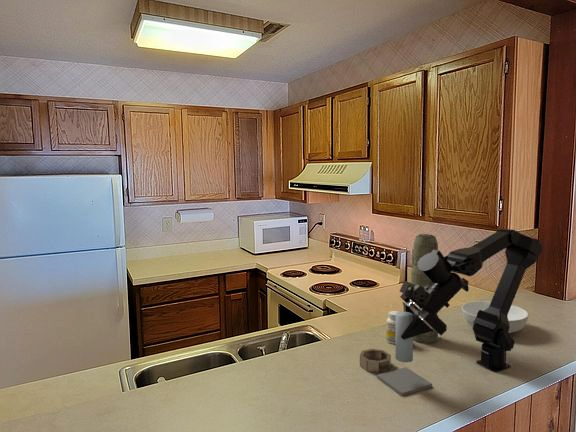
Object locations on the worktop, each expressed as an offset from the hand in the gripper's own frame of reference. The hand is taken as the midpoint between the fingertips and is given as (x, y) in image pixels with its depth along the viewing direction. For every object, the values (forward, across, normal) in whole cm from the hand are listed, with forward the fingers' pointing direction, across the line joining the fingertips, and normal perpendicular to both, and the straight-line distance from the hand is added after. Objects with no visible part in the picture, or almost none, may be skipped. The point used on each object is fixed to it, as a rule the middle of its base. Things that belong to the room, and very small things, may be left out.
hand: (399, 334), depth 103 cm
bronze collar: (+12, -10, +7) cm, 17 cm away
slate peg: (+4, 0, +6) cm, 7 cm away
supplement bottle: (+4, -26, +14) cm, 30 cm away
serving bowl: (-22, -34, +41) cm, 58 cm away
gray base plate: (+8, 0, +10) cm, 13 cm away
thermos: (-3, -27, +22) cm, 35 cm away
